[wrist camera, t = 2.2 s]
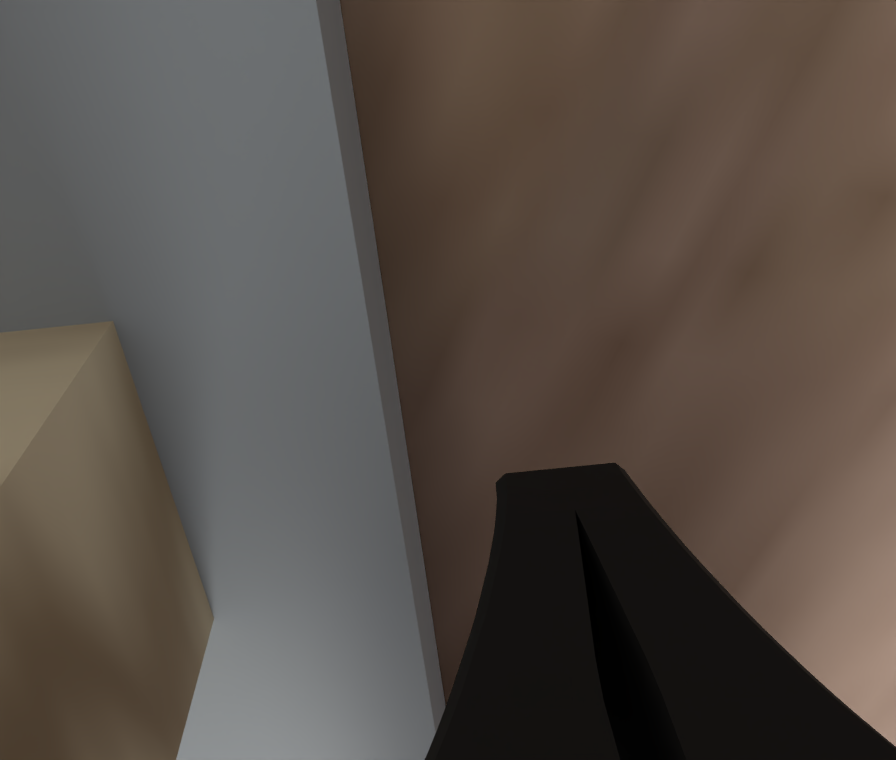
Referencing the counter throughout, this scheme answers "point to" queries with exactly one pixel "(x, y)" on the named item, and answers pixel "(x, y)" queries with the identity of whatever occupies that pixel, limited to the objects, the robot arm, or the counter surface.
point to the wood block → (89, 560)
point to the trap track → (235, 342)
